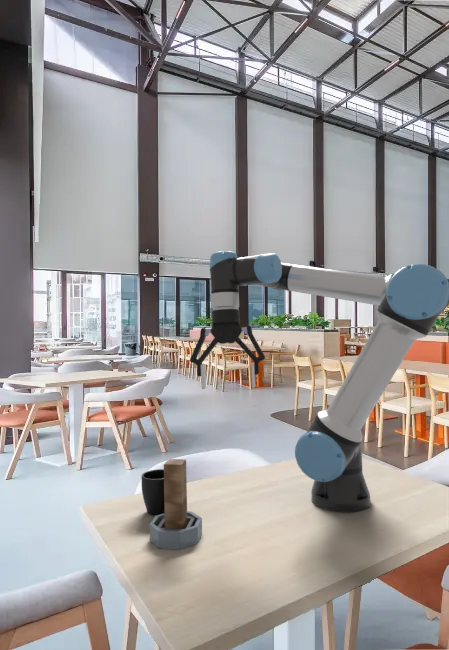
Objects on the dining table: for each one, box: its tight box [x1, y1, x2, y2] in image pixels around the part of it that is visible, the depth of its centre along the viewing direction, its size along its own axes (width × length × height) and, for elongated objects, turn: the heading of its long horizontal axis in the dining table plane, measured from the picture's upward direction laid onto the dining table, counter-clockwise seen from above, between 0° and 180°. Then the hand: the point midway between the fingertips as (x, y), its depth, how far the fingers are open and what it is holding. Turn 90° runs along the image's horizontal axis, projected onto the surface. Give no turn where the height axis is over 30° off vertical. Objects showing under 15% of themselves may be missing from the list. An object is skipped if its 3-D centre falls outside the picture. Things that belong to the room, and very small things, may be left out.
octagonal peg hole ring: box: [149, 510, 203, 551], centre depth 95 cm, size 11×11×4 cm
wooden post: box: [163, 458, 188, 529], centre depth 95 cm, size 4×4×16 cm
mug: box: [141, 468, 165, 517], centre depth 107 cm, size 8×12×10 cm
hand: (228, 387), depth 114 cm, fingers open, 13 cm apart
